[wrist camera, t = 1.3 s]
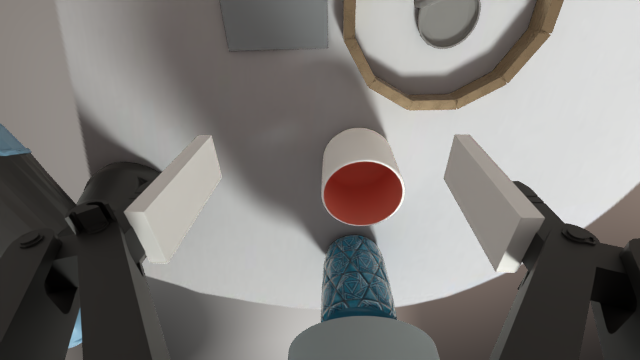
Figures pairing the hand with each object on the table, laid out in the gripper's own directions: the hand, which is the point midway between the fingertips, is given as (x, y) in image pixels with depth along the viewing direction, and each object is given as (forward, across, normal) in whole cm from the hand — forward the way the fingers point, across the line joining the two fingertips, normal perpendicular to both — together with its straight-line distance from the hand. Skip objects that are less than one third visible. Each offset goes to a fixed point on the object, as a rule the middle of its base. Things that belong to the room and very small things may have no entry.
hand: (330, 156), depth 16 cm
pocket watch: (+24, +12, +6) cm, 28 cm away
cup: (+24, +3, -13) cm, 28 cm away
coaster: (+24, -7, +8) cm, 26 cm away
